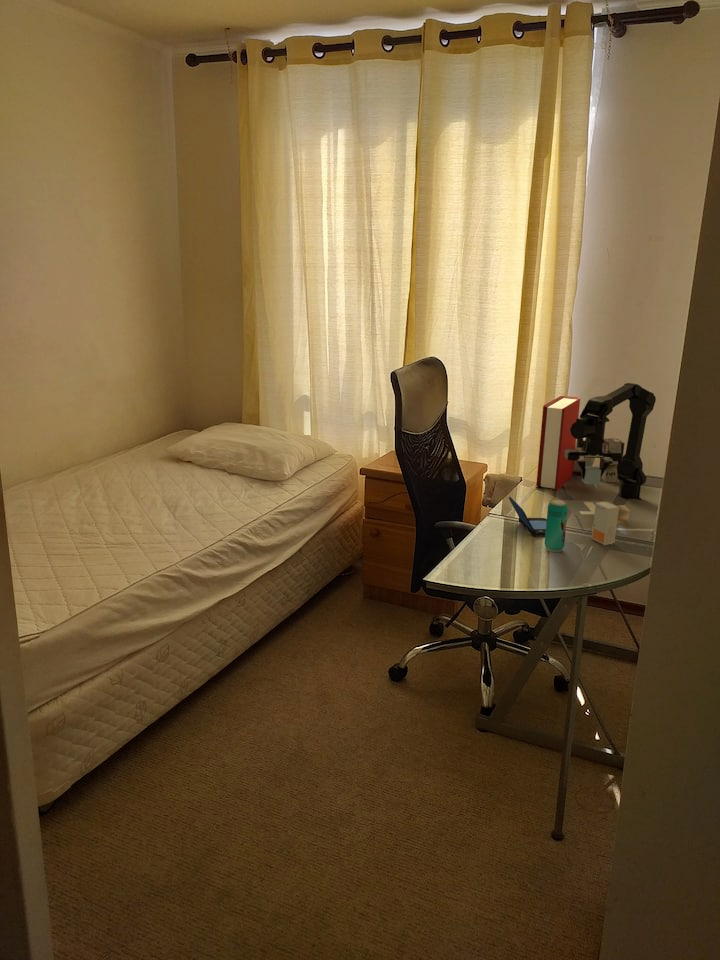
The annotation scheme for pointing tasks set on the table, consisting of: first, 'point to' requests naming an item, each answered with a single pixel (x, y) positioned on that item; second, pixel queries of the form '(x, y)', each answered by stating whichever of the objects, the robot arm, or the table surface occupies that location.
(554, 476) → the book
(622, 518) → the birch block
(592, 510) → the letter board
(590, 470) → the grey cube
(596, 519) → the skincare box
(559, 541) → the beverage can
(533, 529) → the handheld game console
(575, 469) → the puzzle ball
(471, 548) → the table surface
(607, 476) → the coffee box
